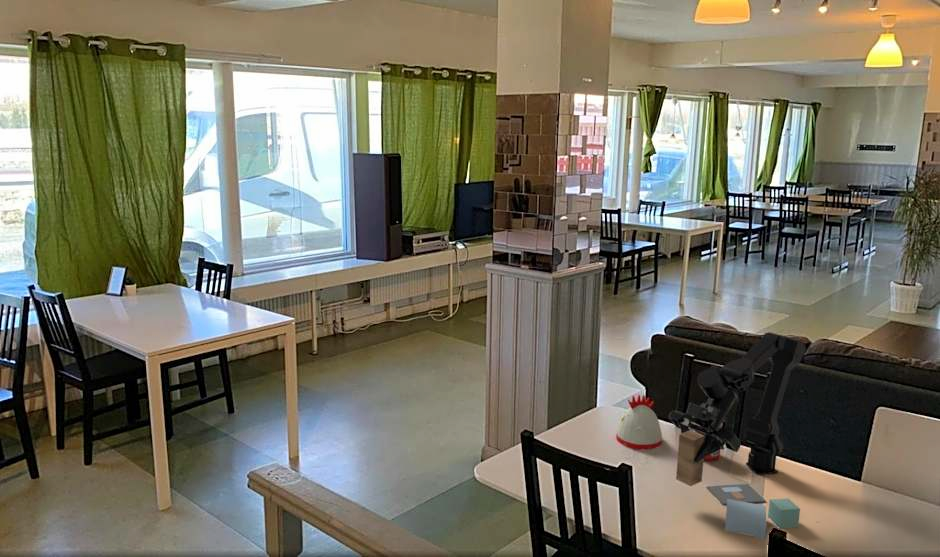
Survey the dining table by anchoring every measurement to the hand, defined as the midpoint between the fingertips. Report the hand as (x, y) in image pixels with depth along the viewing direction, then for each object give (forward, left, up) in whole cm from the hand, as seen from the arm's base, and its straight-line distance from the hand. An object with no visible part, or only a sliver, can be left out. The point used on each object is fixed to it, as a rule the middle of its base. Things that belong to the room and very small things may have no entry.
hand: (687, 457), depth 179 cm
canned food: (-19, -27, -14) cm, 36 cm away
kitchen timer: (-3, -40, -14) cm, 42 cm away
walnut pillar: (-1, -1, -7) cm, 7 cm away
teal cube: (-21, +10, -13) cm, 27 cm away
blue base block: (-11, +10, -14) cm, 20 cm away
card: (-16, -4, -13) cm, 21 cm away
